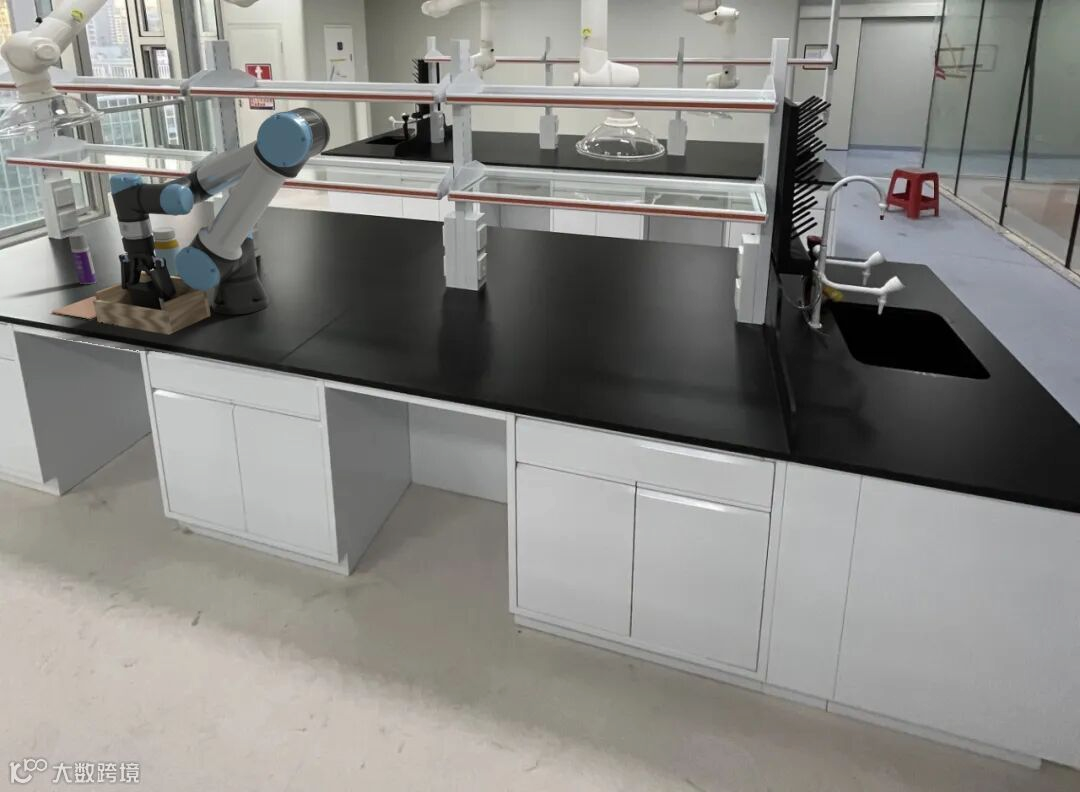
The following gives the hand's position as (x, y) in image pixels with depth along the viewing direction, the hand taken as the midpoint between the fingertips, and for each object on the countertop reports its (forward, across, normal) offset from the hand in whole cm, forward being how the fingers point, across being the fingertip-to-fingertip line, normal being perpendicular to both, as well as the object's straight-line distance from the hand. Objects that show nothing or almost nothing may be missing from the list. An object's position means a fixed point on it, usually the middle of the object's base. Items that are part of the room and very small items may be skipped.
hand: (154, 317), depth 219 cm
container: (+1, -43, +17) cm, 46 cm away
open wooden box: (0, 0, 0) cm, 0 cm away
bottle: (+1, -24, +31) cm, 39 cm away
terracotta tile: (0, -22, 0) cm, 22 cm away
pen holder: (+1, 0, 0) cm, 1 cm away
